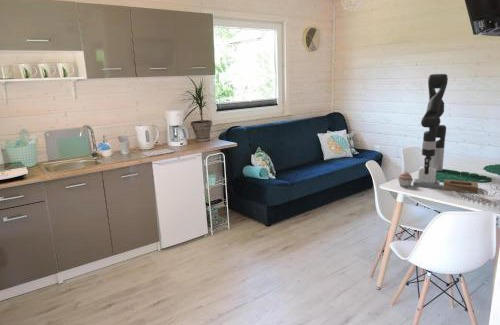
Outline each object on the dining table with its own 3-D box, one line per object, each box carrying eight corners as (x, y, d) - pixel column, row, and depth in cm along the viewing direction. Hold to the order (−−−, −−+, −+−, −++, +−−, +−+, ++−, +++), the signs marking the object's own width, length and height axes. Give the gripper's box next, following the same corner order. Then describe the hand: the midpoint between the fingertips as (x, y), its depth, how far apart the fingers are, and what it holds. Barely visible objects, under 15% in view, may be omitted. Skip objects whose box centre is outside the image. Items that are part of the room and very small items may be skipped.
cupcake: (399, 182, 240) (400, 168, 238) (414, 184, 234) (415, 170, 232) (395, 186, 233) (395, 171, 231) (410, 188, 227) (411, 173, 225)
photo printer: (434, 184, 232) (436, 166, 229) (435, 186, 229) (436, 168, 226) (417, 183, 236) (418, 165, 233) (417, 185, 233) (418, 167, 230)
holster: (414, 182, 240) (415, 178, 239) (439, 184, 232) (439, 180, 232) (413, 185, 233) (413, 182, 232) (438, 188, 225) (438, 184, 225)
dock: (444, 184, 232) (444, 179, 231) (477, 187, 223) (477, 182, 222) (443, 189, 223) (443, 184, 222) (477, 193, 214) (477, 187, 213)
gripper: (423, 145, 234) (422, 169, 238) (421, 149, 223) (419, 174, 226) (436, 146, 231) (434, 170, 234) (434, 150, 219) (432, 176, 222)
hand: (427, 172), depth 230 cm, fingers open, 8 cm apart
